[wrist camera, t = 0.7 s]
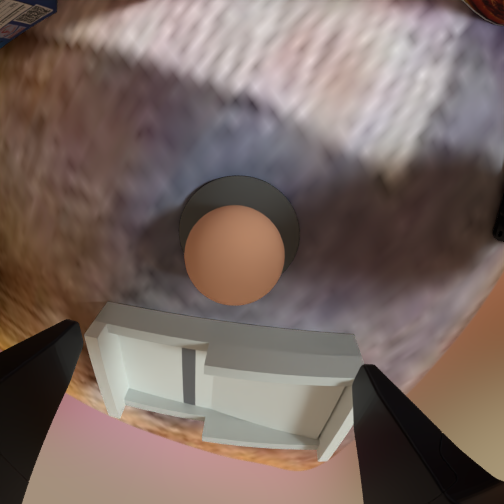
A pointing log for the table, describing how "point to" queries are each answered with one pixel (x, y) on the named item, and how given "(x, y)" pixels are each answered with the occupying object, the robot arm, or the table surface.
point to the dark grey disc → (249, 195)
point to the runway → (228, 376)
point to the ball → (234, 255)
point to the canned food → (488, 10)
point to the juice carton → (22, 16)
